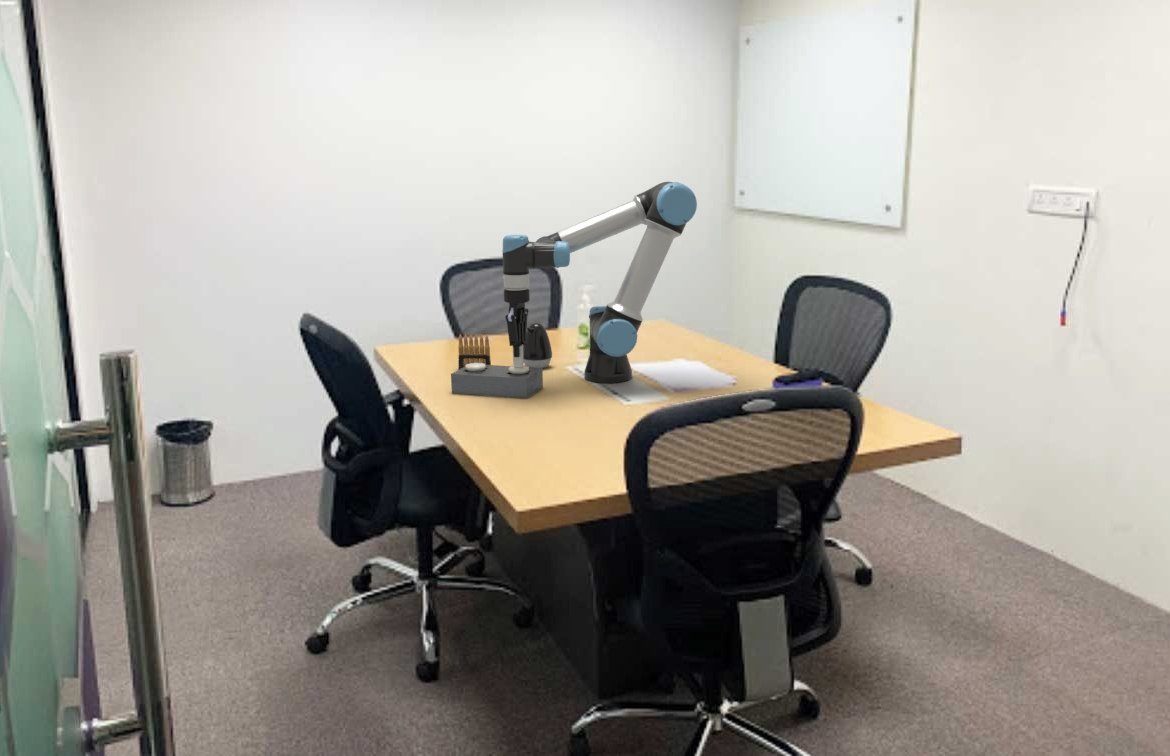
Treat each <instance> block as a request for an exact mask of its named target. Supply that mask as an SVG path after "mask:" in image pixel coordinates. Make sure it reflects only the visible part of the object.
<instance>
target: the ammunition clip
mask: <svg viewBox="0 0 1170 756" xmlns="http://www.w3.org/2000/svg"><path fill="white" fill-rule="evenodd" d="M484 337H485V338H484ZM468 338H469V339H468ZM473 339H474V340H473ZM484 340H485V341H484ZM490 348H491V347H490V340H489V335H488V334H487V333H486V334H485V336H483V334H480V336H479V338H478V335H477V334H475V335H474V338H473V335H472V333H470V334H469V337H468V336H467V334H464V338H463V336H462V334H461V333H460V334H459V337H458V365H457V366H458V367H457V368H458V369H457V370H459V369H461V368H463V367H465V366H466V364H470V363H484V364H485V365H492V364H491V363H492V362H491V361H492V360H491V353H490V351H491V349H490Z"/></svg>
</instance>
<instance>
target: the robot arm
mask: <svg viewBox="0 0 1170 756" xmlns="http://www.w3.org/2000/svg"><path fill="white" fill-rule="evenodd" d="M697 208H698V203H697V198H696V195H695V192H694V191H693V190H692V189H691V188H690V187H688V186H687V185H685V184H684V183H681V182H678V181H677V182H676V181H674V182H673V181H663V182H660V183H658V184H656V185H654V186H653V187H650V188H649V189H647V190H645V191H642V192H640V193H639V194H636V195H634V196H633V199H632V200H630V201H628V202H626V203H623V204H621V205H618V206H616V207H613V208H611V209H609V210H607V211H604V212H602V213H599V214H597V215H594V216H593V217H590V218H588V219H585V220H583V221H581V222H580V221H579V222H578V223H575V224H574V225H571V226H568V227H566V228H563V229H561V230H559V231H556V232H555V233H552V234H549V235H544V236H541V237H539V238H538V239H536V241H530V239H529V236H528V235H526V234H510V235H509V234H508V235H505V236H504V237H503V238H502V252H501V253H502V269H503V270H502V271H503V273H502V275H503V276H502V277H501V279H502V280H503V287H504V290H503V301H504V303H507V304H509V305H508V314H505V320H506V321H505V322H506V325H507V326H506V327H507V332H508V341H509V343H508V344H509V347H512V361H513V362H512V363H513V364H512V366H513V367H518V368H522V367H524V366H525V364H524V362H523V345H526V342H524V341H526V331H527V328H528V327H527V326H528V314H529V308H526V304H525V303H529V302H530V289H529V288H530V269H531V268H533V269H535V268H557V269H559V268H567V267H569V266H570V264H571V263H570V262H571V254H572V253H574V252H576V251H579V250H582V249H584V248H586V247H589V246H592V245H593V244H596V243H598V242H601V241H603V240H606V239H608V238H611V237H613V236H615V235H618V234H620V233H622V232H625V231H628V230H630V229H633V228H635V227H637V226H639V225H644V226H646V229H645V230H644V233H643V235H642V237H641V240H640V242H639V245H638V247H637V248H636V252H635V253H634V256H633V258H632V260H631V262H630V264H629V267H628V270H627V272H626V274H625V276H624V278H623V281H622V282H621V285H620V288H619V290H618V292H617V295H616V296H615V298H614V300H613V301H612V302H609V303H607V305H601V306H600V305H599V306H592V307H590V309H589V315H588V318H589V355H588V358H587V362H586V365H585V368H584V379H585V380H587V381H589V382H593V383H599V384H601V383H604V384H606V383H607V384H613V383H623V382H626V381H629V380H631V379H632V378H633V369H632V366H631V364H630V361H629V358H628V355H629V354H630V353H631V352H632V351H633V349H635V347H636V345H637V342H638V332H639V329H640V327H641V325H642V323H643V320H644V319H643V317H642V310H643V309H644V305H645V303H646V302H647V299H648V298H649V295H650V292H651V290H652V288H653V285H654V283H655V281H656V279H657V276H658V275H659V272H660V270H661V267H662V266H663V263H664V261H665V259H666V258H667V254H668V253H669V250H670V248H671V245H672V243H673V241H674V240H675V238H677V237H680V236H682V233H683V231H684V230H685V228H686V225H687V223H688V222H690V221H691V220H692V219H693V217H694V216H695V214H696V212H697Z"/></svg>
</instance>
